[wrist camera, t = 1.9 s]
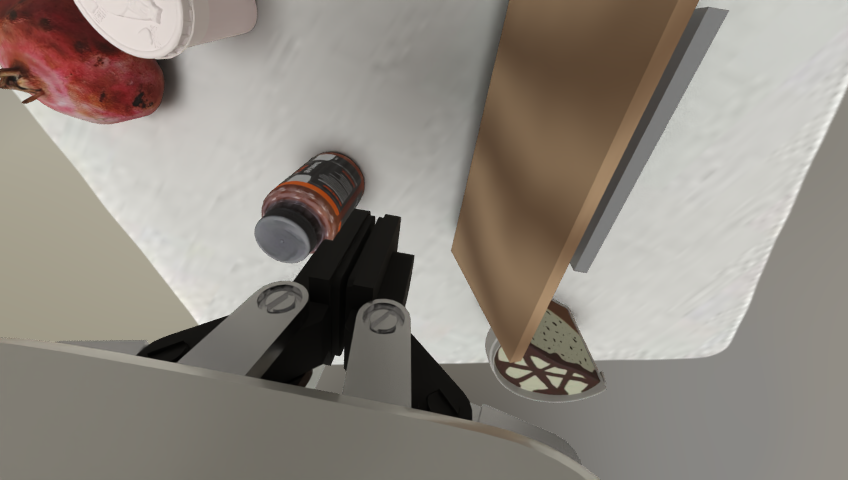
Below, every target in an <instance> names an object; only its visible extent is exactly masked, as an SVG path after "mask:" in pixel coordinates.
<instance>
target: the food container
mask: <svg viewBox="0 0 848 480" xmlns="http://www.w3.org/2000/svg"><path fill="white" fill-rule="evenodd" d="M485 348H486V354H487V357H488V360H489V363H490V366H491V368H492V371H493V372H494V374H495V375H496V377H497V379H498V380H499V382H500V383H501V384H502V385H503V386H504V387H506V388H507V389H508V390H510V391H511V392H513V393H515V394H517V395H519V396H522V397H525V398H528V399H531V400H537V401H542V402H571V401H576V400H582V399H585V398H589V397H591V396H594V395H597V394H599V393H601V392H603V391H605V390H606V386H605V384H606V381H605V378H604V374H603V372H602V371H601V372H599V371H598V369H597V367H596V365H595V363H594V360H593V358H592V356H591V354H590V352H589V350H588V348H587V346H586V343H585V341H584V339H583V337H582V335H581V333H580V331H579V329H578V327H577V324H576V322H575V320H574V318H573V316H572V314H571V312H570V310H569V308H568V307H567V306H565V305H563V304H562V303H560V302H558V301H556V300H554V299H551V301H550V303H549V305H548V307H547V309H546V312H545V314H544V316H543V318H542V320H541V322H540V324H539V326H538V328H537V330H536V332H535V334H534V336H533V338H532V340H531V342H530V344H529V346H528V348H527V350H526V352H525V354H524V356H523V358H522V360H521V361H519V362H512V363H510V362H509V360H508V359H507V357H506V355H505V353H504V351H503V349H502V347H501V345H500V343H499V341H498V339H497V337H496V336H495V334H494V332H493V330H492V328H490V330H489V332H488V334H487V337H486V343H485Z"/></svg>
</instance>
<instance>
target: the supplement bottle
mask: <svg viewBox="0 0 848 480" xmlns="http://www.w3.org/2000/svg"><path fill="white" fill-rule="evenodd" d="M363 192H364V179H363V175H362V173H361V171H360V170H359V168H358V167H357V165H356V164H355V163H354V162H353V161H352V160H350V159H349V158H347V157H346V156H344V155H341V154H338V153H333V152H326V153H321V154H319V155H317V156H315V157H313V158H311V159H310V160H309V161H308V162H307V163H305V164H304V165H303V166H302V167H300V168H299V169H298V170H297V171H296V172H294V173H293V174H292V175H291V176H289V177H288V178H287V179H285V180H284V181H283V182H282V183H280V184H279V185H278V186H277V187H276V188H275V189H273V190H272V191H271V192H270V193H269V194H268V195H267V197H266V198H265V200H264V201H263V206H262V218H261V219H260V220H259V222H258V223H257V225H256V227H255V238H256V241H257V243H258V245H259V247H260V248H261V249H262V250H263V251H264V252H265V253H266V254H267V255H268V256H270V257H272V258H273V259H275V260H277V261H280V262H284V263H298V262H300V261H302V260H304V259H305V258H306V257H307V256H308V255H309V254H311V253H314V252H315V251H316V249H317V248H318V247H319V245H320V244H321V242H322V241H323V240H324V239H328V240H333V239H334V238H335V236H336V235H337V233H338V232H339V230H340V229H341V227H342V226H343V224H344V223H345V221H346V220H347V218H348V217H349V216H350V214H351V213H352V211H353V210H354V209H355V207H356V206H357V204H358V203H359V201H360V199H361V197H362V195H363Z"/></svg>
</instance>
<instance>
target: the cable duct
mask: <svg viewBox="0 0 848 480" xmlns="http://www.w3.org/2000/svg"><path fill="white" fill-rule="evenodd" d="M728 12H729V10H723V9H717V8H712V7H705V8H697V9H695V10H694V12H693V14H692V16H691V18H690V20H689V22H688V24H687V26H686V28H685V30H684V32H683V34H682V36H681V38H680V40H679V42H678V44H677V46H676V48H675V50H674V52H673V54H672V56H671V58H670V60H669V62H668V64H667V66H666V68H665V70H664V72H663V74H662V77H661V79H660V81H659V83H658V85H657V87H656V89H655V91H654V93H653V95H652V97H651V99H650V101H649V103H648V105H647V107H646V109H645V111H644V113H643V115H642V117H641V119H640V121H639V123H638V125H637V127H636V129H635V131H634V133H633V135H632V137H631V139H630V141H629V143H628V145H627V147H626V149H625V151H624V153H623V156H622V158H621V160H620V162H619V164H618V166H617V168H616V170H615V172H614V174H613V176H612V178H611V180H610V182H609V184H608V186H607V188H606V190H605V192H604V194H603V196H602V198H601V200H600V202H599V204H598V206H597V208H596V210H595V212H594V214H593V216H592V218H591V220H590V222H589V224H588V226H587V228H586V230H585V232H584V235H583V237H582V239H581V241H580V243H579V245H578V247H577V249H576V251H575V253H574V255H573V257H572V259H571V261H570V264H571V266H572V268H573V270H574V271H578V272H583V273H587V271H588V270H589V268H590V266H591V264H592V262H593V260H594V259H595V257H596V255H597V253H598V251H599V249H600V248H601V246H602V244H603V242H604V240H605V238H606V236H607V235H608V233H609V231H610V229H611V227H612V225H613V224H614V222H615V220H616V218H617V216H618V214H619V213H620V211H621V209H622V207H623V205H624V203H625V201H626V200H627V198H628V196H629V194H630V192H631V190H632V189H633V187H634V185H635V183H636V181H637V179H638V177H639V176H640V174H641V172H642V170H643V168H644V166H645V165H646V163H647V161H648V159H649V157H650V155H651V154H652V152H653V150H654V148H655V146H656V144H657V142H658V141H659V139H660V137H661V135H662V133H663V131H664V130H665V128H666V126H667V124H668V122H669V120H670V118H671V117H672V115H673V113H674V111H675V109H676V107H677V106H678V104H679V102H680V100H681V98H682V96H683V95H684V93H685V91H686V89H687V87H688V85H689V83H690V82H691V80H692V78H693V76H694V74H695V72H696V71H697V69H698V67H699V65H700V63H701V61H702V60H703V58H704V56H705V54H706V52H707V50H708V48H709V47H710V45H711V43H712V41H713V39H714V37H715V36H716V34H717V32H718V30H719V28H720V26H721V24H722V23H723V21H724V19H725V17H726V15H727V13H728Z"/></svg>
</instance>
